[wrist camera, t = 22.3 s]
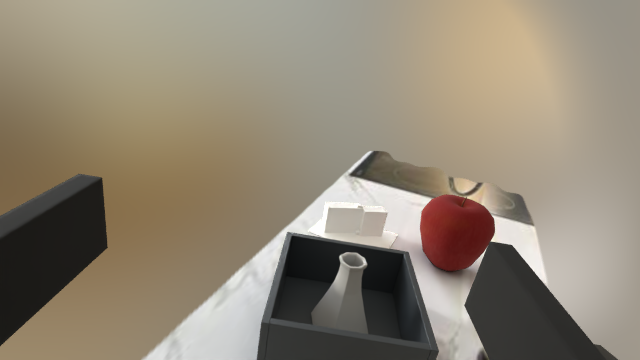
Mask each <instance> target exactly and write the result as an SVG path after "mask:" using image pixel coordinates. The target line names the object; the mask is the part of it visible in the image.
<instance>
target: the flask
mask: <svg viewBox="0 0 640 360" xmlns="http://www.w3.org/2000/svg"><path fill="white" fill-rule="evenodd" d="M339 259H340V263H341V264H340V268H339V272H338V274H337V276H336V278H335V280H334V282H333V284H332V285H331V287H330V288H329V289H328V291H327V292H326V294H325V295H324V297H323V298H322V299H321V300H320V302H319V303H318V304H317V305H316V307H315V308H314V309H313V311H312V312H311V316H312V323H313V325H316V326H322V327H329V328H335V329H341V330H347V331H353V332H359V333H365V334H368V329H367V323H366V318H365V313H364V306H363V300H362V293H361V281H362V274H363V270H364V269H365V268H366V267H367V262H366V260H365V258H364V257H362V256H361V255H359V254H358V253H350V252H346V253H344V254H342V255H340V256H339Z"/></svg>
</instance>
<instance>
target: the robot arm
mask: <svg viewBox="0 0 640 360" xmlns="http://www.w3.org/2000/svg"><path fill="white" fill-rule="evenodd" d="M107 248H108V247H107V235H106V222H105V209H104V196H103V183H102V178H101V177H95V176H89V175H82V174H78V175H76V176H74V177H72V178H70V179H69V180H67V181H65V182H63V183H61V184H59V185H57V186H55V187H54V188H52V189H50V190H48V191H46V192H44V193H43V194H40V195H39V196H37V197H35V198H33V199H31V200H29V201H27V202H25V203H23V204H22V205H20V206H18V207H16V208H14V209H12V210H11V211H9V212H7V213H5V214H3V215H1V216H0V346H1V345H2V344H3V343H4V342H5V341H6V340H7V339H8V338H9V337H11V336H12V335H13V334H14V333H15V332H16V331H17V330H18V329H19V328H20V327H22V326H23V325H24V324H25V323H26V322H27V321H28V320H29V319H30V318H31V317H32V316H34V315H35V314H36V313H37V312H38V311H39V310H40V309H41V308H42V307H43V306H44V305H46V304H47V303H48V302H49V301H50V300H51V299H52V298H53V297H54V296H55V295H56V294H58V293H59V292H60V291H61V290H62V289H63V288H64V287H65V286H66V285H67V284H68V283H69V282H70V281H72V280H73V279H74V278H75V277H76V276H77V275H78V274H79V273H80V272H81V271H83V270H84V269H85V268H86V267H87V266H88V265H89V264H90V263H91V262H92V261H93V260H94V259H96V258H97V257H98V256H99V255H100V254H101V253H102V252H103V251H104V250H105V249H107ZM464 306H465V308H466V310H467V312H468V314H469V316H470V318H471V321H472V323H473V325H474V327H475V329H476V331H477V334H478V336H479V338H480V340H481V342H482V344H483V346H484V349H485V351H486V353H487V355H488V357H489V359H490V360H618V359H616V358H615V357H614V356H613V355H612V354H610V353H609V352H608V351H607V350H606V349H604V348H603V347H602V346H601V345H595V344H593V343H592V342H591V340H590V339H589V338H588V337H587V336H586V334H585V333H584V332H583V331H582V329H581V328H580V327H579V326H578V325H577V323H576V322H575V321H574V320H573V319H572V317H571V316H570V315H569V314H568V313H567V311H566V310H565V309H564V308H563V306H562V305H561V304H560V303H559V302H558V300H557V299H556V298H555V297H554V296H553V294H552V293H551V292H550V291H549V289H548V288H547V287H546V286H545V285H544V283H543V282H542V281H541V280H540V279H539V277H538V276H537V275H536V274H535V272H534V271H533V270H532V269H531V268H530V266H529V265H528V264H527V263H526V262H525V260H524V259H523V258H522V257H521V256H520V254H519V253H518V252H517V251H516V249H515V248H514V247H513V246H512V245H508V244H502V243H496V242H489V244H488V247H487V249H486V252H485V254H484V257H483V259H482V262H481V265H480V267H479V270H478V272H477V275H476V277H475V280H474V282H473V285H472V287H471V290H470V293H469V295H468V298H467V300H466V303H465V305H464Z"/></svg>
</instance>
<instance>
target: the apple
mask: <svg viewBox="0 0 640 360" xmlns="http://www.w3.org/2000/svg"><path fill="white" fill-rule="evenodd" d="M420 232H421V240H422V247H423V252H424V253H425V254H426V256H427V257H428V258H429V260H430V261H431V262H432V264H434V265H435V266H436V267H438V268H440V269H442V270H446V271H456V270H460V269H464V268H467V267H469V266H471V265H472V264H473V263H474V262H475V261H476V260H477V259H478V258H479V257H480V255H481V254H482V253H483V252H484V251H485V249H486V248H487V246H488V244H489V242H490V241H491V239H492V238H493V236H494V233H495V224H494V218H493V217H492V215H491V214H490V213H489V211H488V210H487V209H486V208H485V207H484V206H483V205H481V204H479V203H477V202H475V201H473V200H470V199H467V197H466V198H463V197H459V196H455V195H442V196H439V197H437V198H434V199H432V200H431V201H430V202H429V203H428V204H427V205H426V206H425V208H424V209H423V210H422V214H421V223H420Z"/></svg>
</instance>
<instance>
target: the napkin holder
mask: <svg viewBox="0 0 640 360" xmlns="http://www.w3.org/2000/svg"><path fill="white" fill-rule="evenodd" d="M387 213H388V212H387V211H386V210H385V208H384V207H379V206H362V204H360V203H345V202H325V208H324V214H323V218H322V219H321V220H320V221H319V222H317V223H316V224H315V225H314V226H313V227H311V228H310V229H309V230H308V231H309V232H311V233H314V234H316V235H319V236H321V237H324V238H327V239H333V240H339V241H345V242H351V243H358V244H364V245H370V246H376V247H382V248H388V249H389V248H390V247H391V245H392V244H393V242H394V240H395V239H396V237H397V236H398V234H395V233H393V232H390V231H387V230H384V225H385V221H386V217H387Z"/></svg>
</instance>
